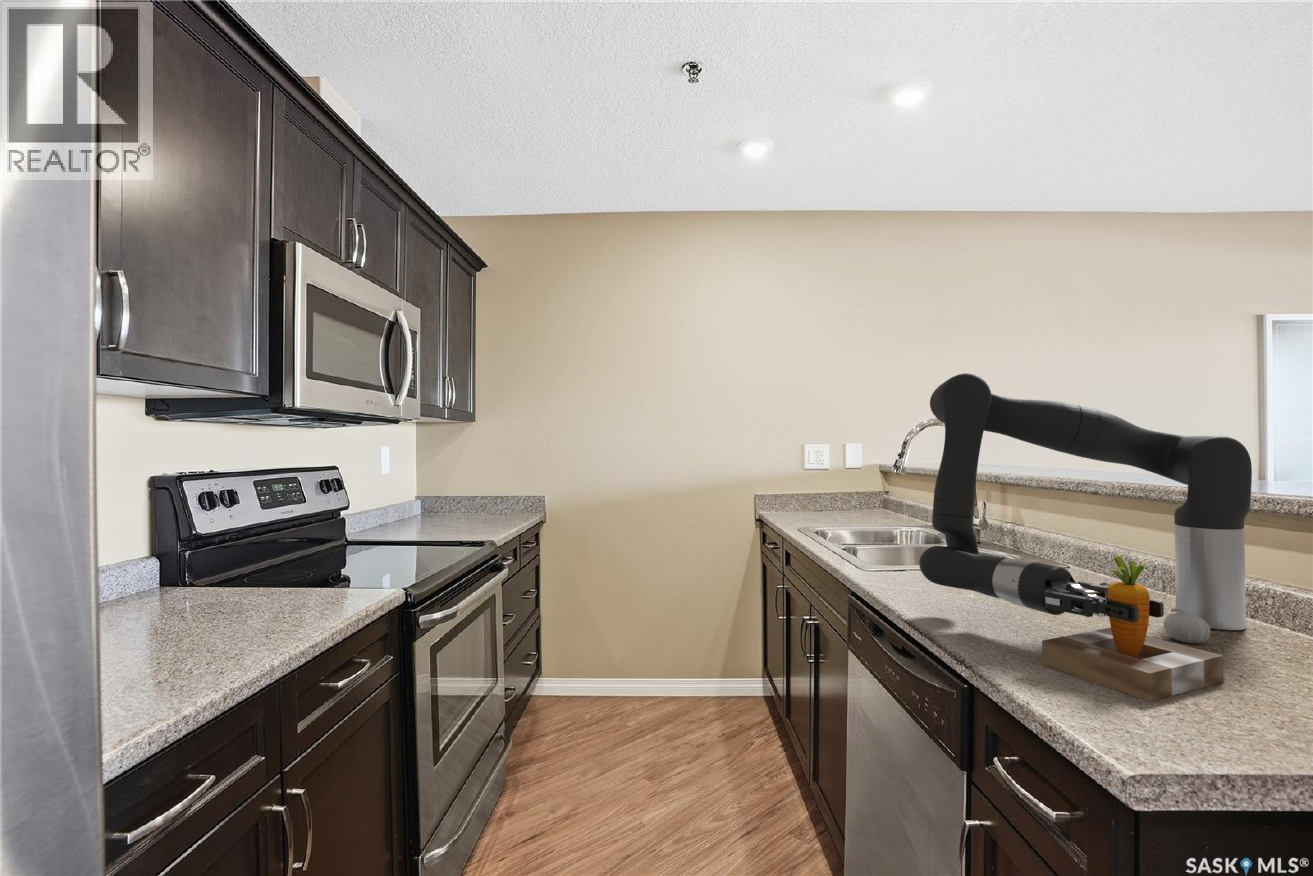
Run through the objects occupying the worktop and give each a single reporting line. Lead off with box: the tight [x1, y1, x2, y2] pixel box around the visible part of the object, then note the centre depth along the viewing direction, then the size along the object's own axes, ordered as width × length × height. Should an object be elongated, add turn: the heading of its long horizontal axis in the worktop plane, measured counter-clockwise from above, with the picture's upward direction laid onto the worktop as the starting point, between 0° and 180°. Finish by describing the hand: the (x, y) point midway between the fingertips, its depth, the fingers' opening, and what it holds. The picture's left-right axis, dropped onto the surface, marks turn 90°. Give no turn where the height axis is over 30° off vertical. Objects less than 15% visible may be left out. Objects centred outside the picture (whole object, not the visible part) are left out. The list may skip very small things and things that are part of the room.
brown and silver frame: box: [1041, 627, 1225, 702], centre depth 86 cm, size 16×14×4 cm
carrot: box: [1108, 555, 1151, 658], centre depth 86 cm, size 5×5×15 cm
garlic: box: [1163, 607, 1211, 644], centre depth 100 cm, size 6×5×5 cm
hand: (1149, 612), depth 84 cm, fingers closed on carrot, 5 cm apart
